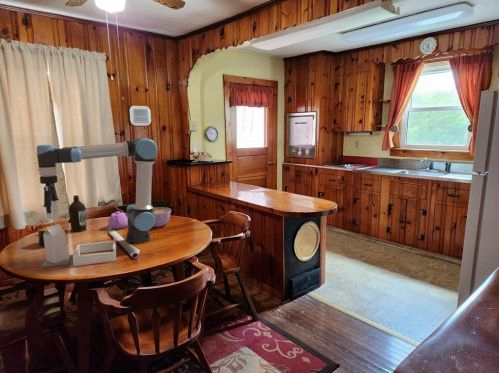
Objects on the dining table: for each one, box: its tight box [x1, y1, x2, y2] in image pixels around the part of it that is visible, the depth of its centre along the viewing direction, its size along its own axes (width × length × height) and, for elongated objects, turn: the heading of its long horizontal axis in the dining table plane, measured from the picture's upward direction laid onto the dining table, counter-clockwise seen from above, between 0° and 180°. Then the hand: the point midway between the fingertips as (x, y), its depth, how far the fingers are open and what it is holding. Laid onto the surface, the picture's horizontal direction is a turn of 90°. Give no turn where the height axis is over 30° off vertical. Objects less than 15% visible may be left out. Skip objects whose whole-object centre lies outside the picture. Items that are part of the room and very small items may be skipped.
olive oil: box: [68, 194, 88, 233], centre depth 223 cm, size 11×11×25 cm
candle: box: [37, 225, 65, 247], centre depth 197 cm, size 10×10×10 cm
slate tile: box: [40, 254, 72, 269], centre depth 170 cm, size 12×12×1 cm
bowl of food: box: [152, 207, 172, 228], centre depth 236 cm, size 20×20×12 cm
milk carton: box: [43, 223, 68, 263], centre depth 168 cm, size 7×7×19 cm
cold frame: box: [72, 236, 117, 267], centre depth 176 cm, size 20×20×7 cm
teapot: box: [108, 210, 128, 230], centre depth 231 cm, size 20×13×12 cm, turn 17°
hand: (52, 216), depth 166 cm, fingers open, 13 cm apart
